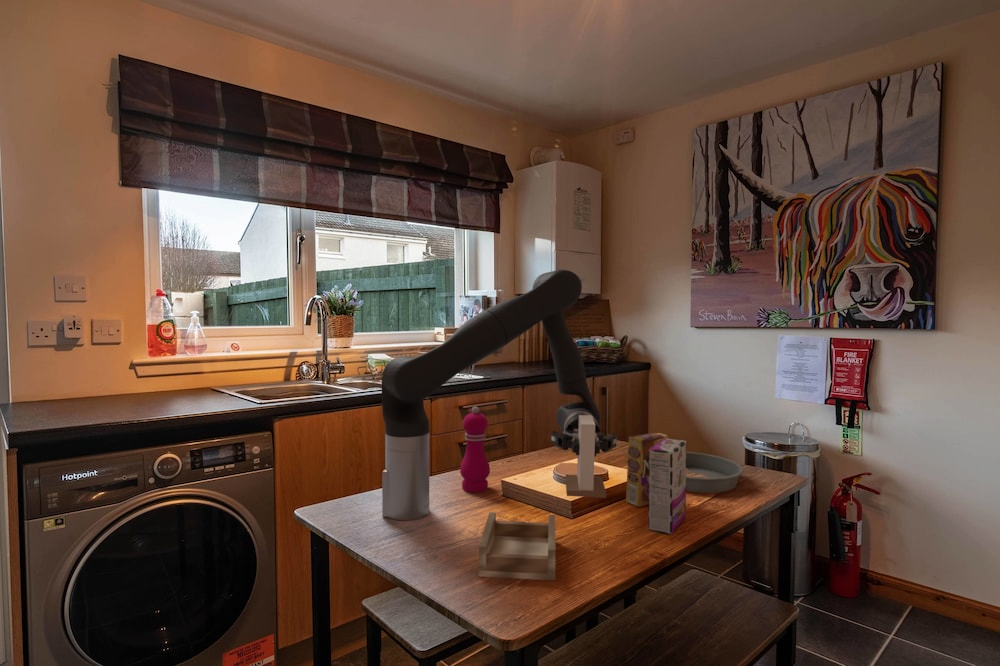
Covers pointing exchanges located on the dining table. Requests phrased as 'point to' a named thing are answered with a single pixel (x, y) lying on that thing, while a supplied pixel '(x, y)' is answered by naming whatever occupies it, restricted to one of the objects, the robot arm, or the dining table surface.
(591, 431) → the place card sign
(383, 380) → the robot arm
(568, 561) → the dining table surface
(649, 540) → the dining table surface
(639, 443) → the candy box
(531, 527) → the brown wooden tray
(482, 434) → the pepper mill
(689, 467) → the cake pan
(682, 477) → the candy bar box
